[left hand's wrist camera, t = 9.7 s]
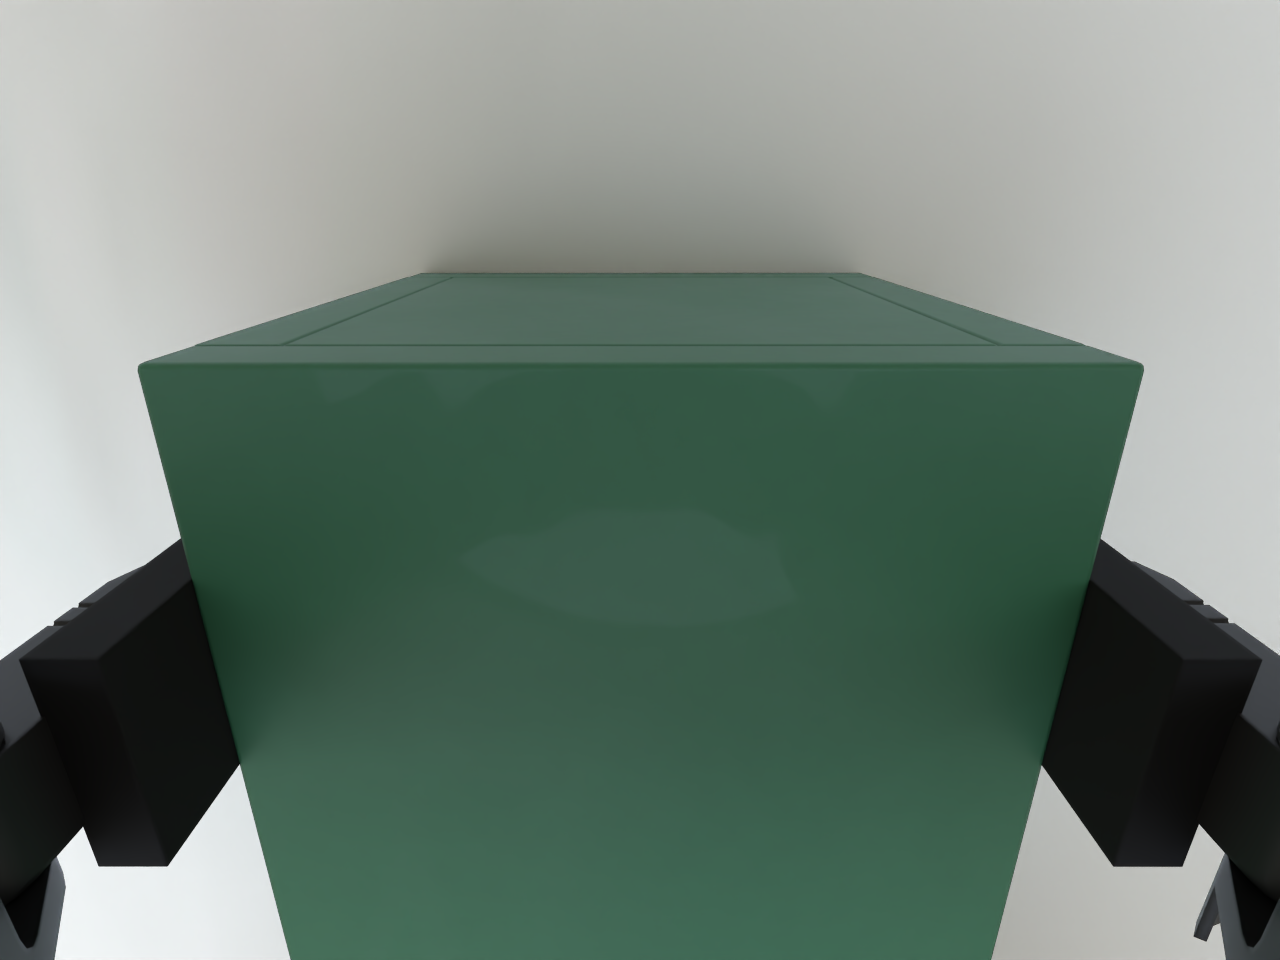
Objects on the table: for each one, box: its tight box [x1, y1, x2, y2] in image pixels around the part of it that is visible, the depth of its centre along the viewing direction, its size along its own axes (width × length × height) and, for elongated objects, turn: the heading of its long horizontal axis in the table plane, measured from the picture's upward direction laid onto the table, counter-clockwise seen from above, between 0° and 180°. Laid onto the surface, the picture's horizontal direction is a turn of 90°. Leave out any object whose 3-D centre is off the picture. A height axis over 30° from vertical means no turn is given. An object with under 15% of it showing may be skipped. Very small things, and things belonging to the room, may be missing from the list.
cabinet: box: [138, 273, 1144, 960], centre depth 15 cm, size 19×10×10 cm, turn 0°
